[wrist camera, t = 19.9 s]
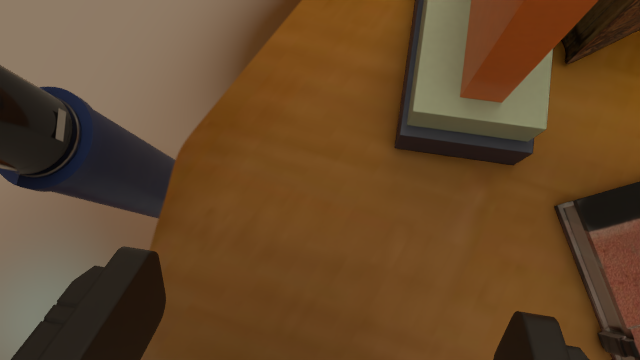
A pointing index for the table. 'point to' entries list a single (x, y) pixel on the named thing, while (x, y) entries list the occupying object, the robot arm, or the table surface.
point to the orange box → (512, 42)
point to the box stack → (457, 112)
